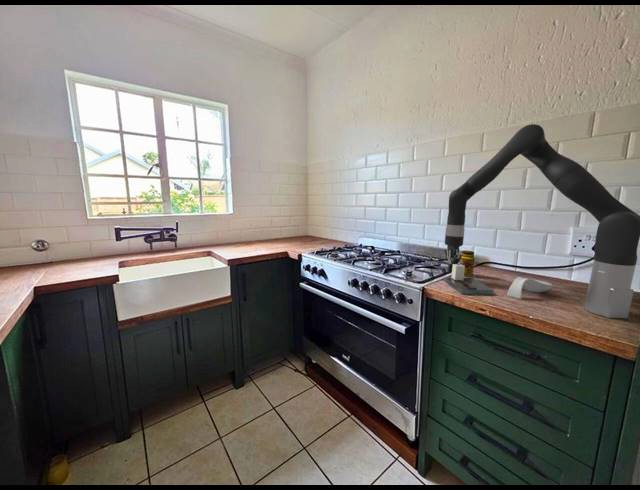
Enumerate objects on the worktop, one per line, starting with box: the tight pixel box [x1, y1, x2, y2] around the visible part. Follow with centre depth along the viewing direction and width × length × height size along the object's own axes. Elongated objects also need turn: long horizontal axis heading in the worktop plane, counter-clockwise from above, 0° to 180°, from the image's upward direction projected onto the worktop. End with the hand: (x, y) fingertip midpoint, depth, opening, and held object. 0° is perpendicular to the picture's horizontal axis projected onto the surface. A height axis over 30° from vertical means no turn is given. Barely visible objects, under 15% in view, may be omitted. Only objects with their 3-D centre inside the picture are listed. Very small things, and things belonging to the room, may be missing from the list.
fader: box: [450, 263, 465, 280], centre depth 117 cm, size 3×4×6 cm
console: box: [444, 275, 495, 296], centre depth 113 cm, size 16×12×3 cm
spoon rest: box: [506, 276, 554, 300], centre depth 108 cm, size 24×12×7 cm, turn 124°
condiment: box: [459, 250, 476, 279], centre depth 131 cm, size 7×8×12 cm
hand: (450, 271), depth 124 cm, fingers closed
